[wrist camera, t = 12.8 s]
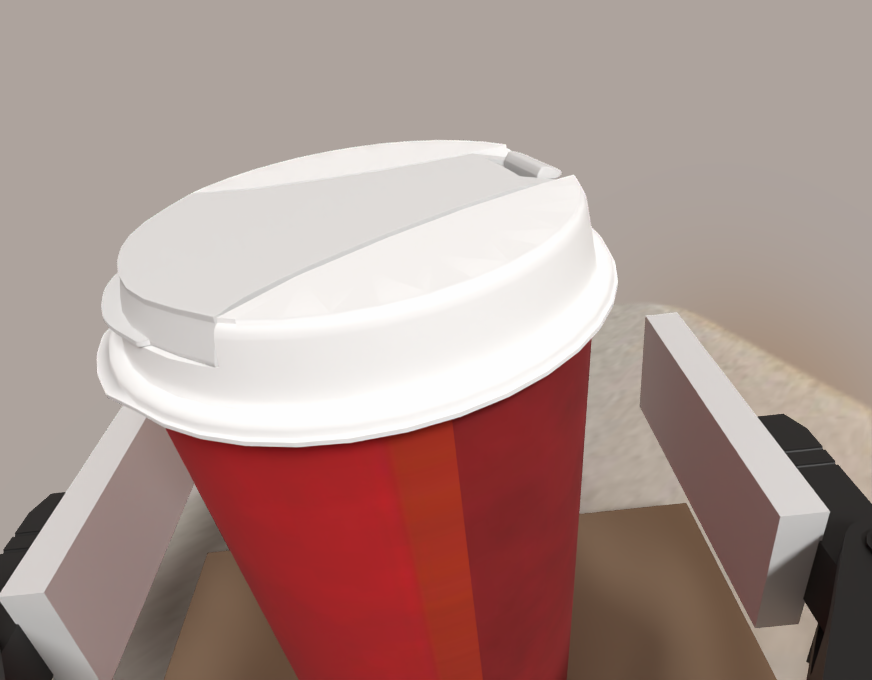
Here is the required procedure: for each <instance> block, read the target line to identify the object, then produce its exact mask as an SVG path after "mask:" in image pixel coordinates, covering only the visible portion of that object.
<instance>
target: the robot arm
mask: <svg viewBox="0 0 872 680" xmlns="http://www.w3.org/2000/svg"><path fill="white" fill-rule="evenodd" d="M640 408H641V410H642V411H643V413H644V415H645V417H646V419H647V421H648V423H649V425H650V427H651V429H652V431H653V433H654V435H655V436H656V438H657V440H658V442H659V444H660V446H661V448H662V450H663V452H664V454H665V456H666V458H667V460H668V461H669V463H670V465H671V467H672V469H673V471H674V473H675V475H676V477H677V479H678V481H679V483H680V485H681V486H682V488H683V490H684V492H685V494H686V496H687V498H688V500H689V502H690V504H691V506H692V508H693V510H694V511H695V513H696V515H697V517H698V519H699V521H700V523H701V525H702V527H703V529H704V531H705V533H706V535H707V536H708V538H709V540H710V542H711V544H712V546H713V548H714V550H715V552H716V554H717V556H718V558H719V560H720V561H721V563H722V565H723V567H724V569H725V571H726V573H727V575H728V577H729V579H730V581H731V583H732V585H733V586H734V588H735V590H736V592H737V594H738V596H739V598H740V600H741V602H742V604H743V606H744V608H745V610H746V611H747V613H748V615H749V617H750V619H751V621H752V623H753V625H754V627H755V628H761V627H772V626H782V625H792V624H799V621H800V617H801V614H802V610H803V606H804V603H806V604H807V606H808V608H809V609H810V611H811V612H812V614H813V616H814V617H815V619H816V620H817V622H818V625H817V628H816V632H815V635H814V638H813V641H812V645H811V648H810V651H809V655H808V658H807V661H806V662H808V663H809V669H808V675H807V680H872V504H871V503H870V501H869V500H868V499H867V498H866V497H865V496H864V494H863V493H862V492H861V491H860V490H859V489H858V487H857V486H856V485H855V484H854V483H853V482H852V480H851V479H850V478H849V477H848V476H847V475H846V473H845V472H844V471H843V470H842V469H841V468H840V466H839V465H836V464H835V461H834V459H833V458H832V457H831V456H830V455H829V454H828V452H827V451H826V450H823V448H822V445H821V444H820V443H819V442H818V441H817V439H816V438H815V437H814V436H813V435H812V434H811V432H810V431H809V430H808V429H807V428H806V427H804V426H802V425H801V424H799V423H797V422H796V421H794V420H793V419H791V418H789V417H788V416H786V415H785V414H777V415H768V416H759V417H757V416H756V414H755V413H754V412H753V411H752V409H751V408H750V407H749V405H748V404H747V403H746V401H745V400H744V399H743V398H742V396H741V395H740V394H739V392H738V391H737V390H736V388H735V387H734V386H733V385H732V383H731V382H730V381H729V379H728V378H727V377H726V375H725V374H724V373H723V371H722V370H721V369H720V368H719V366H718V365H717V364H716V362H715V361H714V360H713V358H712V357H711V356H710V355H709V353H708V352H707V351H706V349H705V348H704V347H703V345H702V344H701V343H700V342H699V340H698V339H697V338H696V336H695V335H694V334H693V332H692V331H691V330H690V329H689V327H688V326H687V325H686V323H685V322H684V321H683V319H682V318H681V317H680V316H679V314H678V313H677V312H674V313H665V314H656V315H647V316H646V317H645V333H644V348H643V364H642V379H641V395H640ZM193 485H194V482H193V480H192V478H191V476H190V474H189V472H188V470H187V468H186V467H185V465H184V463H183V461H182V459H181V457H180V455H179V453H178V451H177V450H176V448H175V446H174V444H173V442H172V440H171V438H170V436H169V434H168V433H167V431H166V429H165V428H164V427H162V426H161V425H159V424H157V423H155V422H154V421H152V420H150V419H148V418H146V417H145V416H143V415H141V414H139V413H137V412H136V411H133V410H131V409H129V408H127V407H125V406H122V407H121V409H120V411H119V412H118V413H117V415H116V417H115V418H114V420H113V421H112V423H111V424H110V426H109V427H108V429H107V430H106V432H105V433H104V435H103V436H102V438H101V440H100V441H99V443H98V444H97V446H96V447H95V449H94V450H93V452H92V453H91V455H90V457H89V458H88V459H87V461H86V462H85V464H84V466H83V467H82V469H81V470H80V472H79V473H78V475H77V476H76V478H75V479H74V481H73V482H72V484H71V485H70V487H69V488H68V490H67V491H66V492H63V493H54V494H50V495H49V496H48V497H47V498H46V499H45V500H43V501H42V502H41V503H40V504H39V505H38V506H37V507H35V508H34V509H33V510H32V511H31V512H30V513H29V514H28V515H27V517H26V518H25V520H24V521H23V523H22V524H21V525H20V527H19V528H18V530H17V531H16V533H15V537H12V538H11V540H10V541H9V543H8V544H7V545H6V547H5V548H4V553H3V554H0V680H52V678H54V680H112V679H113V677H114V674H115V672H116V669H117V667H118V665H119V662H120V660H121V657H122V655H123V653H124V650H125V648H126V645H127V643H128V641H129V638H130V636H131V634H132V631H133V629H134V626H135V624H136V622H137V619H138V617H139V614H140V612H141V610H142V607H143V605H144V602H145V600H146V598H147V595H148V593H149V590H150V588H151V586H152V583H153V581H154V578H155V576H156V574H157V571H158V569H159V566H160V564H161V562H162V559H163V557H164V555H165V552H166V550H167V547H168V545H169V543H170V540H171V538H172V535H173V533H174V531H175V528H176V526H177V523H178V521H179V519H180V516H181V514H182V511H183V509H184V507H185V504H186V502H187V499H188V497H189V495H190V492H191V490H192V488H193Z"/></svg>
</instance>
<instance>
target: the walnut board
mask: <svg viewBox="0 0 872 680" xmlns="http://www.w3.org/2000/svg"><path fill="white" fill-rule="evenodd" d="M164 680H298V678H297V676H296V674H295V672H294V670H293V668H292V666H291V665H290V663H289V661H288V659H287V657H286V655H285V653H284V652H283V650H282V648H281V646H280V644H279V642H278V640H277V638H276V637H275V635H274V633H273V631H272V629H271V627H270V625H269V623H268V621H267V620H266V618H265V616H264V614H263V612H262V610H261V608H260V606H259V604H258V603H257V601H256V599H255V597H254V595H253V593H252V591H251V589H250V587H249V586H248V584H247V582H246V580H245V578H244V576H243V574H242V572H241V570H240V568H239V567H238V565H237V563H236V561H235V559H234V557H233V555H232V553H231V551H220V552H211V553H207V556H206V559H205V562H204V565H203V568H202V571H201V574H200V576H199V579H198V582H197V585H196V588H195V591H194V594H193V597H192V600H191V602H190V605H189V608H188V611H187V614H186V617H185V620H184V623H183V626H182V629H181V631H180V634H179V637H178V640H177V643H176V646H175V649H174V652H173V655H172V657H171V660H170V663H169V666H168V669H167V672H166V675H165V678H164ZM567 680H777V679H776V677H775V675H774V673H773V671H772V670H771V668H770V666H769V664H768V662H767V660H766V658H765V656H764V654H763V652H762V650H761V648H760V646H759V644H758V642H757V640H756V638H755V636H754V634H753V632H752V630H751V629H750V627H749V625H748V623H747V621H746V619H745V617H744V615H743V613H742V611H741V609H740V607H739V605H738V603H737V601H736V599H735V597H734V595H733V593H732V591H731V590H730V588H729V586H728V584H727V582H726V580H725V578H724V576H723V574H722V572H721V570H720V568H719V566H718V564H717V562H716V560H715V558H714V556H713V554H712V552H711V551H710V549H709V547H708V545H707V543H706V541H705V539H704V537H703V535H702V533H701V531H700V529H699V527H698V525H697V523H696V521H695V519H694V517H693V515H692V513H691V511H690V510H689V508H688V506H687V504H686V503H682V504H672V505H662V506H653V507H643V508H634V509H624V510H614V511H605V512H595V513H585V514H579V524H578V538H577V552H576V567H575V580H574V594H573V607H572V621H571V634H570V647H569V659H568V671H567Z"/></svg>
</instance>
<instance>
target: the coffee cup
mask: <svg viewBox="0 0 872 680" xmlns="http://www.w3.org/2000/svg"><path fill="white" fill-rule="evenodd" d="M560 175H561V171H560V170H559V169H557V168H555V167H552V166H550V165H548V164H546V163H543V162H541V161H539V160H537V159H535V158H532V157H530V156H527V155H526V154H523V153H519V152H513V151H511V150H510V149H507V148H506V145H505V144H498V143H490V142H479V141H464V140H427V141H426V140H425V141H406V142H394V143H382V144H375V145H366V146H358V147H352V148H346V149H340V150H333V151H329V152H323V153H318V154H313V155H308V156H303V157H299V158H295V159H291V160H287V161H283V162H279V163H275V164H272V165H268V166H265V167H261V168H258V169H254V170H251V171H248V172H245V173H242V174H239V175H236V176H233V177H230V178H227V179H225V180H222V181H219V182H217V183H214V184H212V185H210V186H207V187H205V188H202V189H200V190H198V191H195V192H193V193H192V194H189V195H188V196H186V197H184V198H182V199H181V200H179V201H177V202H175V203H174V204H172V205H170V206H169V207H167V208H165V209H164V210H162V211H161V212H159V213H158V214H156V215H155V216H153V217H152V218H150V219H148V220H147V221H145V222H144V223H143V224H142V225H141V226H140V227H138V228H137V229H136V230H135V231H134V232H133V233H131V234H130V235H129V237H128V238H127V240H126V241H125V243H124V244H123V245H122V247H121V249H120V252H119V256H118V260H117V267H118V273H117V274H115V275H114V276H113V277H112V279H111V280H110V281H109V283H108V284H107V286H106V288H105V291H104V293H103V298H102V305H101V309H102V314H103V319H104V322H105V323H106V325H107V326H108V328H109V329H108V330H107V331H106V332H105V333H104V334H103V336H102V339H101V343H100V346H99V349H98V352H97V375H98V377H99V379H100V382H101V384H102V386H103V389H104V391H105V393H106V395H107V397H108V398H109V399H111V400H113V401H115V402H117V403H119V404H121V405H123V406H125V407H127V408H129V409H131V410H133V411H136V412H137V413H139V414H141V415H143V416H145V417H146V418H148V419H150V420H152V421H154V422H155V423H157V424H159V425H161V426H162V427H164V428H165V429H166V431H167V433H168V434H169V436H170V438H171V440H172V442H173V444H174V446H175V448H176V450H177V451H178V453H179V455H180V457H181V459H182V461H183V463H184V465H185V467H186V468H187V470H188V472H189V474H190V476H191V478H192V480H193V482H194V483H195V485H196V487H197V489H198V491H199V493H200V495H201V497H202V499H203V500H204V502H205V504H206V506H207V508H208V510H209V512H210V514H211V516H212V517H213V519H214V521H215V523H216V525H217V527H218V529H219V531H220V533H221V534H222V536H223V538H224V540H225V542H226V544H227V546H228V548H229V550H230V551H231V553H232V555H233V557H234V559H235V561H236V563H237V565H238V567H239V568H240V570H241V572H242V574H243V576H244V578H245V580H246V582H247V584H248V586H249V587H250V589H251V591H252V593H253V595H254V597H255V599H256V601H257V603H258V604H259V606H260V608H261V610H262V612H263V614H264V616H265V618H266V620H267V621H268V623H269V625H270V627H271V629H272V631H273V633H274V635H275V637H276V638H277V640H278V642H279V644H280V646H281V648H282V650H283V652H284V653H285V655H286V657H287V659H288V661H289V663H290V665H291V666H292V668H293V670H294V672H295V674H296V676H297V678H298V680H567V671H568V659H569V647H570V634H571V621H572V607H573V594H574V580H575V567H576V552H577V538H578V524H579V509H580V495H581V481H582V466H583V452H584V438H585V424H586V410H587V395H588V381H589V367H590V353H591V339H592V337H593V336H594V335H595V334H596V333H597V332H598V331H599V330H600V328H601V327H602V325H603V323H604V321H605V320H606V318H607V316H608V314H609V313H610V311H611V309H612V307H613V304H614V300H615V295H616V291H617V286H618V279H617V272H616V265H615V261H614V259H613V257H612V255H611V254H610V252H609V250H608V248H607V246H606V245H605V243H604V241H603V239H602V238H601V236H600V235H599V234H598V233H597V232H596V231H595V230H594V229H593V228H592V227H591V221H590V215H589V209H588V203H587V198H586V195H585V192H584V191H583V189H582V187H581V185H580V183H579V181H578V180H577V179H576V177H575V175H571V176H567V177H563V178H560V179H556V180H555V179H553V178H558V177H559V176H560Z"/></svg>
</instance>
